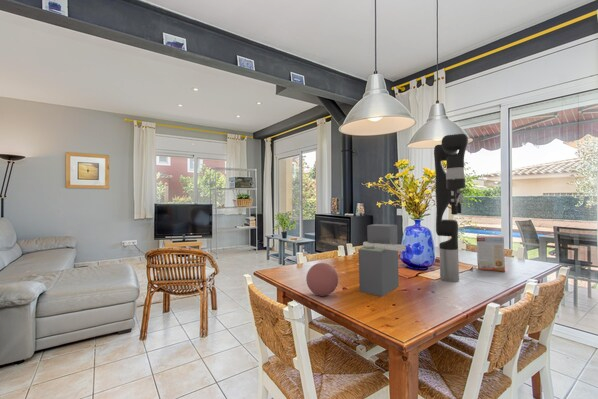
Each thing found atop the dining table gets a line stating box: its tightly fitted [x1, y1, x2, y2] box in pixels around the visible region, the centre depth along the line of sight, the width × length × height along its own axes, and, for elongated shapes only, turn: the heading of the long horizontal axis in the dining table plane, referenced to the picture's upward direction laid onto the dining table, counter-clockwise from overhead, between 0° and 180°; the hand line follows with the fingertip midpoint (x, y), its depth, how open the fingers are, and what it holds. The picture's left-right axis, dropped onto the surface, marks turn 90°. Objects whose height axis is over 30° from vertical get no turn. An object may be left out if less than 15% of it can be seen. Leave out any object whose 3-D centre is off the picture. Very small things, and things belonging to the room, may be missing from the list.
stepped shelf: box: [357, 223, 400, 298], centre depth 144 cm, size 20×12×32 cm, turn 140°
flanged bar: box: [362, 241, 407, 252], centre depth 137 cm, size 6×21×2 cm, turn 50°
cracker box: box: [476, 234, 506, 273], centre depth 175 cm, size 14×6×21 cm, turn 58°
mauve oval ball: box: [305, 262, 339, 297], centre depth 139 cm, size 15×20×15 cm
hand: (456, 213), depth 129 cm, fingers open, 8 cm apart
